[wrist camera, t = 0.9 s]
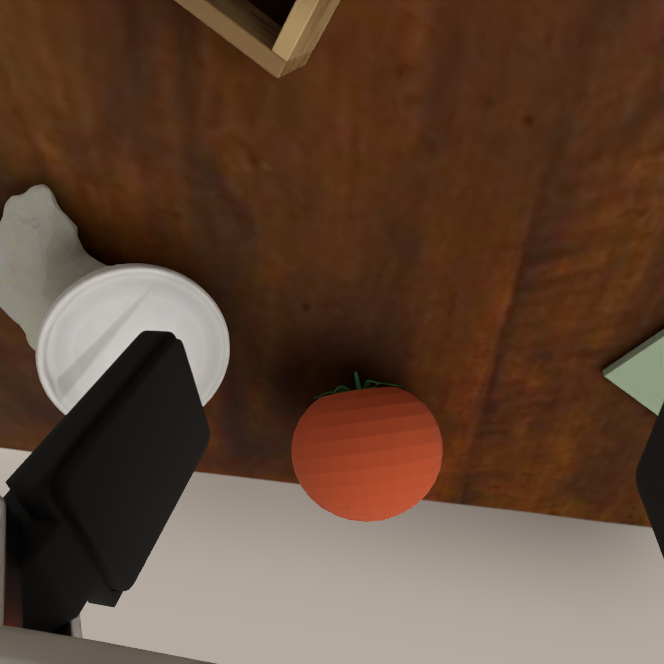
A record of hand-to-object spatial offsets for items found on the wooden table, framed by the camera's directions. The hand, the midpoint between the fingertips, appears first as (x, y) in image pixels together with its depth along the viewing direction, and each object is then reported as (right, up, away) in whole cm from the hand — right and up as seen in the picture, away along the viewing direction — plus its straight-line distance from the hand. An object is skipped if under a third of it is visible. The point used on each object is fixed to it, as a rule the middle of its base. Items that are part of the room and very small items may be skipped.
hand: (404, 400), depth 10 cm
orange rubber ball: (+2, -11, +23) cm, 25 cm away
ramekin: (-16, +2, +25) cm, 29 cm away
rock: (-24, +10, +22) cm, 34 cm away
